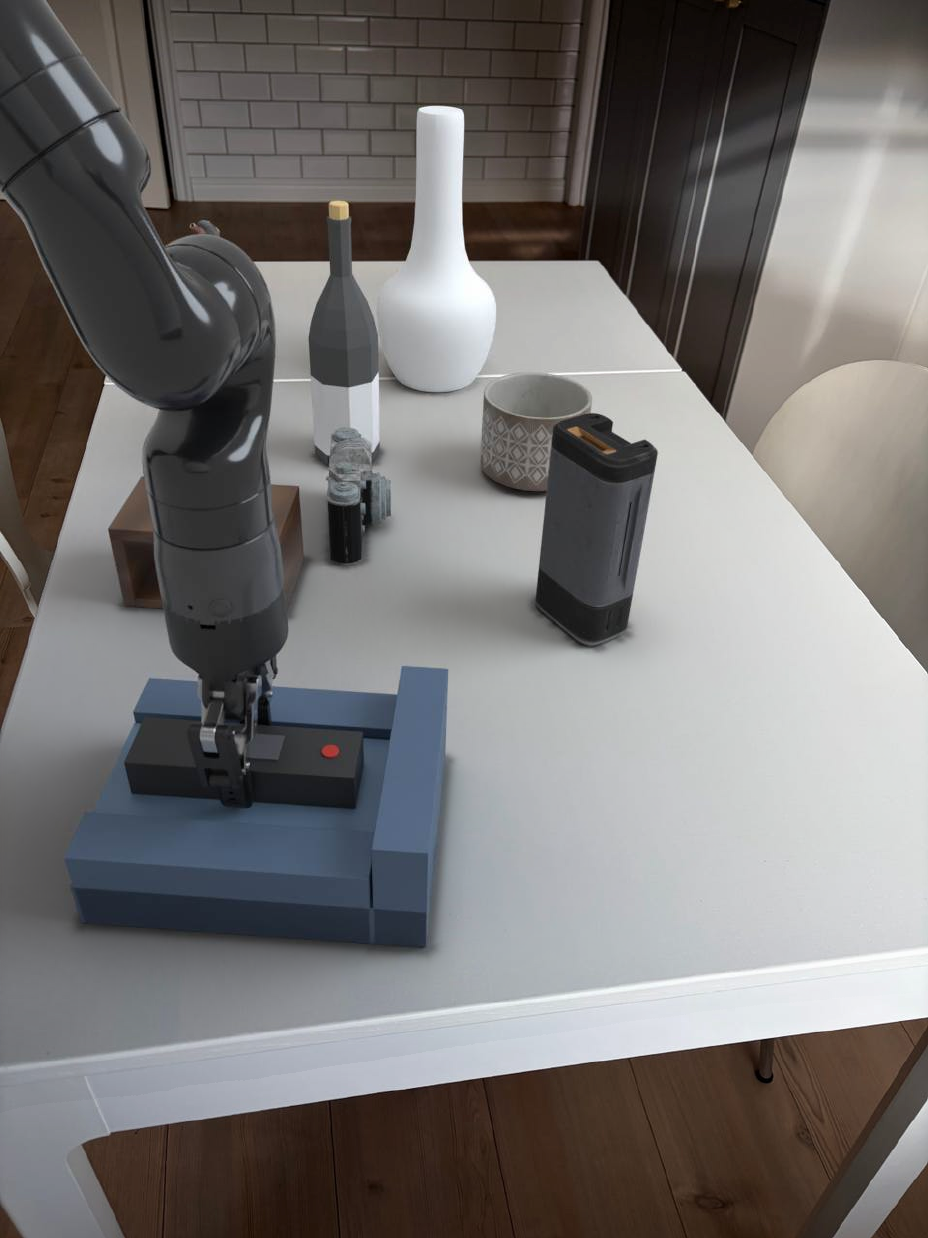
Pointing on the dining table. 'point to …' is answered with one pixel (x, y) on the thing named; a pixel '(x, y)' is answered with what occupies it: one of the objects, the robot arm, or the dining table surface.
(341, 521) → the camera
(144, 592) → the shelf
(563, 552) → the electronic device
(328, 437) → the wine bottle
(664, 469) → the dining table surface
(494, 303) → the vase
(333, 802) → the remote
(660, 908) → the dining table surface
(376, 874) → the sofa
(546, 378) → the planter
